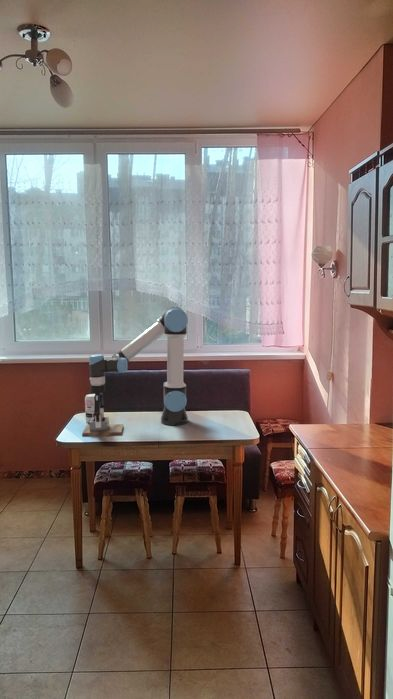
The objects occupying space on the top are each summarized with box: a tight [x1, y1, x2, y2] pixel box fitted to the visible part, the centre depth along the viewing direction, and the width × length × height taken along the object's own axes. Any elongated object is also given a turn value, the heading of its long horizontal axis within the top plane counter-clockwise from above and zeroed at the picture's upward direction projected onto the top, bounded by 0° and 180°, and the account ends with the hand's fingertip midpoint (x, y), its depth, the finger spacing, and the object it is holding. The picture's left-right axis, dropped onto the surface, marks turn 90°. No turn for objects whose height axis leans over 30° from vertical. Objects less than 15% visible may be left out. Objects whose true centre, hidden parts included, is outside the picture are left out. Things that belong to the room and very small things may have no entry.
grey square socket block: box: [88, 416, 110, 432], centre depth 265 cm, size 9×9×5 cm
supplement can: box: [84, 393, 95, 423], centre depth 283 cm, size 8×8×15 cm
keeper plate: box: [81, 413, 124, 437], centre depth 265 cm, size 20×14×10 cm
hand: (100, 423), depth 265 cm, fingers open, 13 cm apart
